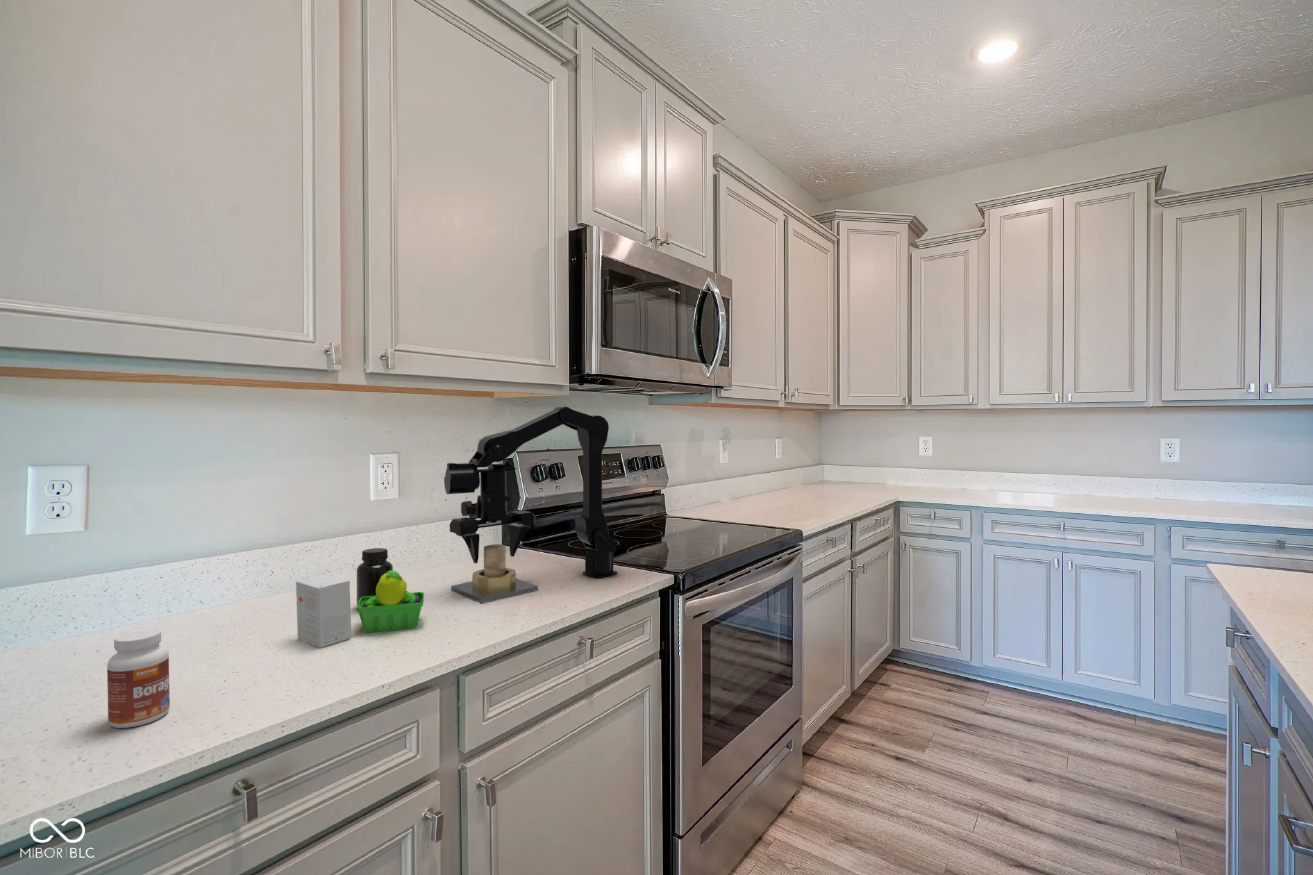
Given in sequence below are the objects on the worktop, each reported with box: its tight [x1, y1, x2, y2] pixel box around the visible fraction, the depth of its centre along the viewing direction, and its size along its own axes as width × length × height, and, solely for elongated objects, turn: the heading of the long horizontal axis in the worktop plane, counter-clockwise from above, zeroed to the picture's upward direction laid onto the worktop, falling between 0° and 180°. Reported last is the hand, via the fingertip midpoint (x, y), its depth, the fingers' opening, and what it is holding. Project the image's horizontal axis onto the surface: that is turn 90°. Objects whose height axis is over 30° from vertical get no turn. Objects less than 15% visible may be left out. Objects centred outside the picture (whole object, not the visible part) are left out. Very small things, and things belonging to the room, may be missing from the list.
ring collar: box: [450, 567, 539, 604], centre depth 138 cm, size 14×14×4 cm
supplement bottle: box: [356, 547, 394, 606], centre depth 125 cm, size 7×7×12 cm
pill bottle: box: [106, 628, 171, 729], centre depth 79 cm, size 6×6×11 cm
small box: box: [295, 574, 352, 649], centre depth 108 cm, size 8×6×10 cm
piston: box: [483, 543, 507, 577], centre depth 138 cm, size 5×5×9 cm
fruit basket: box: [355, 569, 425, 633], centre depth 114 cm, size 11×9×11 cm
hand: (494, 559), depth 138 cm, fingers open, 9 cm apart
